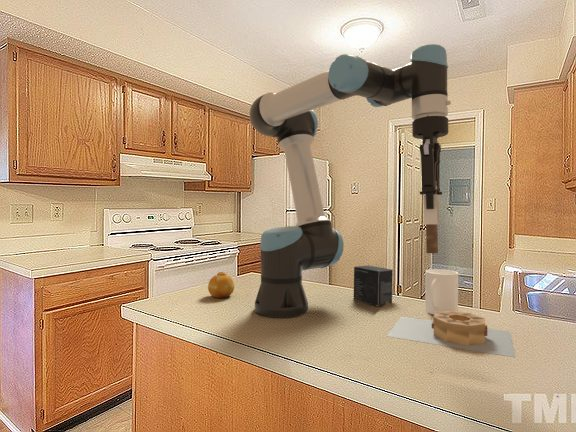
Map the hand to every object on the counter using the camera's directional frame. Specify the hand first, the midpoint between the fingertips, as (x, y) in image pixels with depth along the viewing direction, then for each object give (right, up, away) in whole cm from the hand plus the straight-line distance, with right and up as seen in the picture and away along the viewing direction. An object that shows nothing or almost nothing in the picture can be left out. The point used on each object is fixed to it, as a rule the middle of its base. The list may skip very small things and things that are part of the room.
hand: (431, 223), depth 83 cm
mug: (+8, -25, +15) cm, 31 cm away
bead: (+5, -24, -2) cm, 25 cm away
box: (-6, -25, +32) cm, 41 cm away
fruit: (-54, -25, +38) cm, 70 cm away
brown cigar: (0, -6, 0) cm, 6 cm away
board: (+4, -26, 0) cm, 26 cm away
